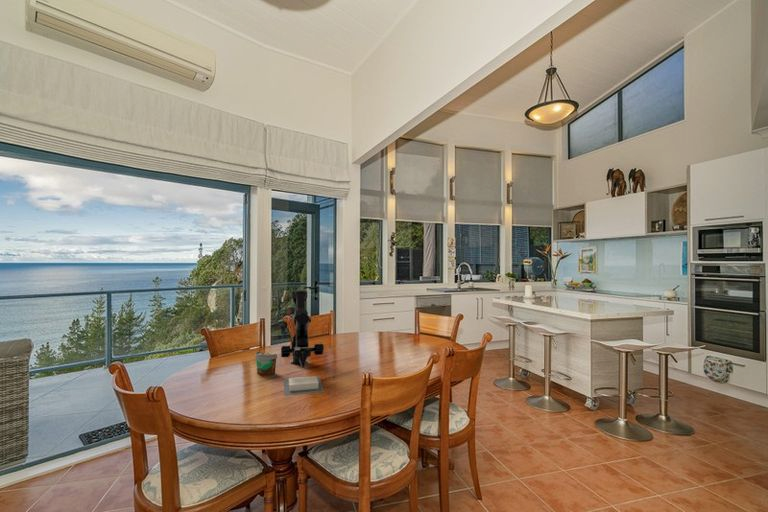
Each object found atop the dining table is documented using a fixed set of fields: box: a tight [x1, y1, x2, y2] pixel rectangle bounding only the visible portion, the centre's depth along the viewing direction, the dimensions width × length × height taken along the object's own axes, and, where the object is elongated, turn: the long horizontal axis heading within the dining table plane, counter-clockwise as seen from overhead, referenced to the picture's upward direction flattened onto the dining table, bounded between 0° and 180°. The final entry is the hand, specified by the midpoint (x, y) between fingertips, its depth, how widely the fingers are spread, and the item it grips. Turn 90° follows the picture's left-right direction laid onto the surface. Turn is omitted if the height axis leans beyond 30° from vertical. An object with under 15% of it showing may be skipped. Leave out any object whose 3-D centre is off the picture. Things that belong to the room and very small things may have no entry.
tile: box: [288, 375, 319, 392], centre depth 150 cm, size 3×12×9 cm
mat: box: [283, 375, 325, 397], centre depth 152 cm, size 20×16×1 cm
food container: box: [254, 350, 278, 376], centre depth 167 cm, size 12×6×10 cm, turn 62°
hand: (303, 367), depth 153 cm, fingers closed
